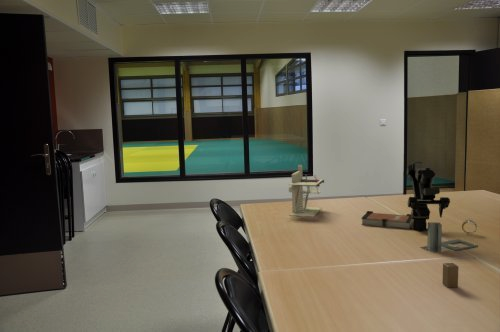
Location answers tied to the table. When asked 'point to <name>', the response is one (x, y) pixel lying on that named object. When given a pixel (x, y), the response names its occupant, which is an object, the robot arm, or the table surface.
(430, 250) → the grey square plate
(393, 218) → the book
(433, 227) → the grey clip
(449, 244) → the rail plate
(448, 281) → the wooden block
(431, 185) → the robot arm
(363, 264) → the table surface
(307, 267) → the table surface
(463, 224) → the ring
